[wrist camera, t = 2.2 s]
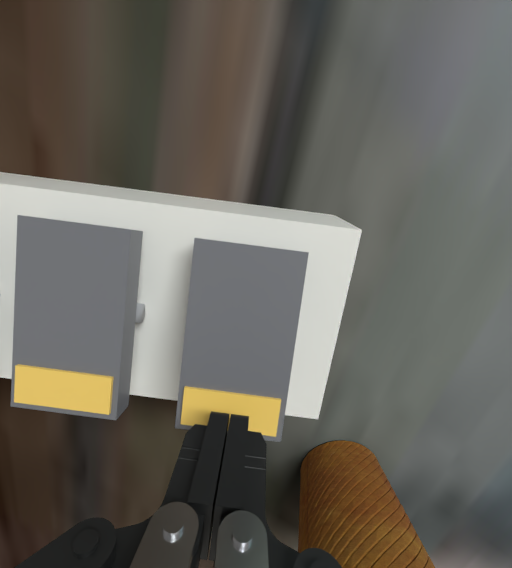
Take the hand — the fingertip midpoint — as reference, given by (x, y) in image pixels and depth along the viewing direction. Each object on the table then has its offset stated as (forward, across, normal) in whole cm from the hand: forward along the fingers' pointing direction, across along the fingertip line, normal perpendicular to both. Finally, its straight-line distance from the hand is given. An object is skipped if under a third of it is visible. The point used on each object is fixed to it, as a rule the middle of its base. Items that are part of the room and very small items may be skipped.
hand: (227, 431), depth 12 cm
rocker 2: (+2, 0, -3) cm, 4 cm away
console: (+10, +7, -3) cm, 12 cm away
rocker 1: (+2, +7, -3) cm, 8 cm away
